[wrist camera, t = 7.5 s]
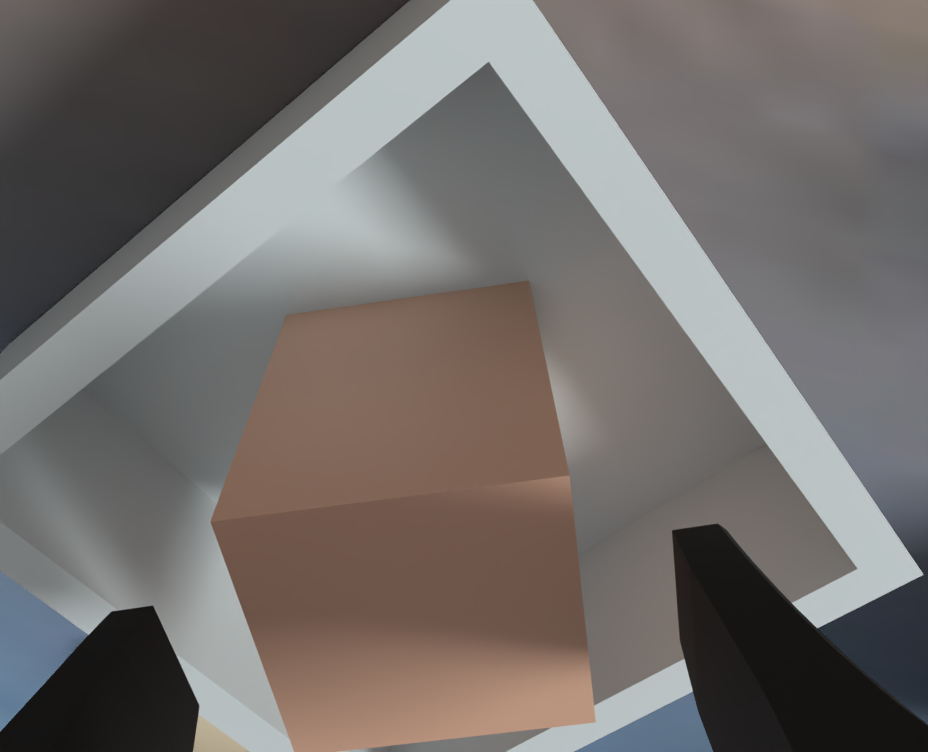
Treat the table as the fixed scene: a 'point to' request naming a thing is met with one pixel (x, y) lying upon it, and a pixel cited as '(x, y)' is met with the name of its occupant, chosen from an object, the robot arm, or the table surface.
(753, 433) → the bin
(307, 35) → the table surface
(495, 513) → the block
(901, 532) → the table surface
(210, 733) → the base
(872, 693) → the robot arm
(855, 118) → the table surface
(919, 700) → the table surface
